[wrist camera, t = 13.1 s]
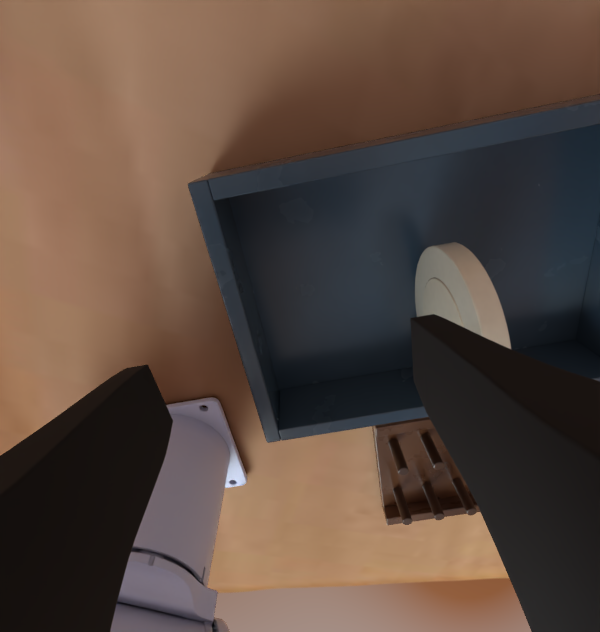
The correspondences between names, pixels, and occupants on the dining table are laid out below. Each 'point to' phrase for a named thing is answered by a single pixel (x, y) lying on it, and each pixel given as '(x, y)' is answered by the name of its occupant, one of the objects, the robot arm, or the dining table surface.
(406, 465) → the plate rack
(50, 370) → the dining table surface
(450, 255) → the plate
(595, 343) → the dark blue tray
